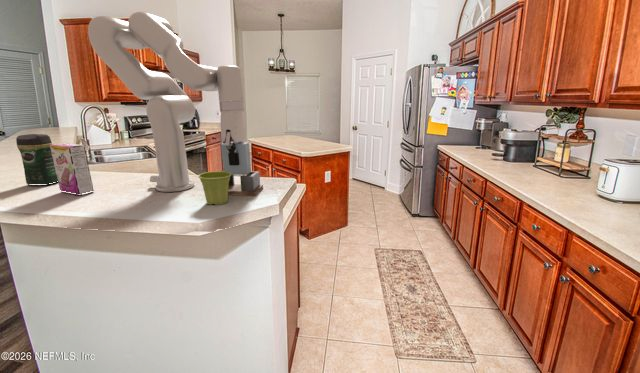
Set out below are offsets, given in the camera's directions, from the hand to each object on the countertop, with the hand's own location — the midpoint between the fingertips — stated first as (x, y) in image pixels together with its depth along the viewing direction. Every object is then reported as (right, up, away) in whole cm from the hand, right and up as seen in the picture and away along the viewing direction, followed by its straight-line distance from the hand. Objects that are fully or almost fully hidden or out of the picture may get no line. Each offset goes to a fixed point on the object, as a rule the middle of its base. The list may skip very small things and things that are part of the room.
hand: (236, 163), depth 108 cm
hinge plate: (0, -9, +3) cm, 10 cm away
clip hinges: (0, -8, +2) cm, 9 cm away
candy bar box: (-55, -10, +2) cm, 56 cm away
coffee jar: (-76, -7, +14) cm, 77 cm away
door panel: (0, -3, +1) cm, 3 cm away
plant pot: (-4, -13, -9) cm, 16 cm away
